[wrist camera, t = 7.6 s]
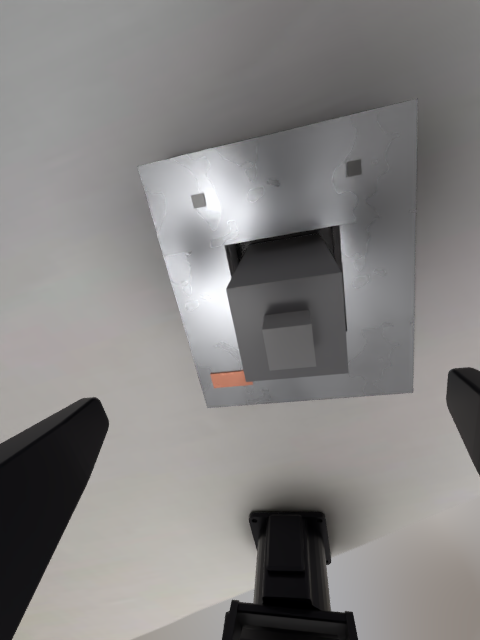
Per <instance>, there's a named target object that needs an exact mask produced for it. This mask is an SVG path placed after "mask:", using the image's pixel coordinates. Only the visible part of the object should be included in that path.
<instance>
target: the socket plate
mask: <svg viewBox="0 0 480 640" xmlns="http://www.w3.org/2000/svg"><path fill="white" fill-rule="evenodd" d="M417 116H418V98H417V99H413V100H409V101H405V102H401V103H397V104H393V105H389V106H384V107H380V108H376V109H372V110H368V111H364V112H360V113H355V114H351V115H347V116H343V117H339V118H335V119H331V120H326V121H322V122H318V123H314V124H310V125H306V126H302V127H297V128H293V129H289V130H285V131H281V132H277V133H273V134H269V135H264V136H260V137H256V138H252V139H248V140H244V141H240V142H235V143H231V144H227V145H223V146H219V147H215V148H211V149H206V150H202V151H198V152H194V153H190V154H186V155H182V156H177V157H173V158H169V159H165V160H161V161H157V162H153V163H149V164H144V165H140V166H137V167H138V171H139V174H140V178H141V181H142V184H143V188H144V191H145V195H146V198H147V202H148V205H149V209H150V212H151V215H152V219H153V222H154V226H155V229H156V233H157V236H158V239H159V243H160V246H161V250H162V253H163V257H164V260H165V264H166V267H167V270H168V274H169V277H170V281H171V284H172V288H173V291H174V294H175V298H176V301H177V305H178V308H179V312H180V315H181V319H182V322H183V325H184V329H185V332H186V336H187V339H188V343H189V346H190V349H191V353H192V356H193V360H194V363H195V367H196V370H197V374H198V377H199V380H200V384H201V387H202V391H203V394H204V398H205V401H206V404H207V408H213V407H227V406H240V405H253V404H267V403H280V402H294V401H307V400H320V399H334V398H347V397H361V396H374V395H387V394H401V393H413V366H414V303H415V241H416V178H417ZM331 226H332V233H333V245H334V257H335V261H336V263H337V265H338V266H339V268H340V270H341V272H342V282H343V297H344V311H345V326H346V341H347V355H348V370H349V373H346V374H335V375H323V376H311V377H299V378H287V379H275V380H264V381H252V382H246V380H245V375H244V370H243V366H242V361H241V357H240V352H239V347H238V343H237V338H236V334H235V329H234V324H233V320H232V315H231V310H230V306H229V301H228V297H227V292H226V288H227V286H228V284H229V282H230V280H231V278H232V276H233V274H234V272H235V270H236V269H237V267H238V265H239V261H238V256H237V251H236V246H235V243H241V242H246V241H252V240H258V239H263V238H269V237H275V236H280V235H286V234H291V233H297V232H303V231H308V230H314V229H320V228H325V227H331Z"/></svg>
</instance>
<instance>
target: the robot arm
mask: <svg viewBox="0 0 480 640" xmlns="http://www.w3.org/2000/svg"><path fill="white" fill-rule="evenodd" d="M446 401H447V406H448V409H449V411H450V413H451V416H452V418H453V420H454V422H455V424H456V427H457V429H458V431H459V433H460V435H461V438H462V440H463V442H464V444H465V446H466V449H467V451H468V453H469V455H470V457H471V459H472V462H473V464H474V466H475V468H476V470H477V472H478V473H479V475H480V371H478V370H476V369H474V368H470V367H466V368H455V369H451V370H450V371H449V373H448V382H447V395H446ZM108 427H109V420H108V418H107V415H106V413H105V411H104V408H103V406H102V404H101V402H100V400H99V399H98V398H96V397H92V398H83V399H80V400H78V401H77V402H75V403H73V404H71V405H69V406H68V407H66V408H64V409H62V410H60V411H59V412H57V413H55V414H53V415H51V416H50V417H48V418H46V419H44V420H42V421H41V422H39V423H37V424H35V425H33V426H32V427H30V428H28V429H26V430H24V431H23V432H21V433H19V434H17V435H16V436H14V437H12V438H10V439H8V440H7V441H5V442H3V443H1V444H0V640H12V638H13V636H14V634H15V632H16V630H17V628H18V626H19V624H20V622H21V620H22V618H23V615H24V613H25V611H26V609H27V607H28V605H29V603H30V601H31V599H32V597H33V595H34V593H35V591H36V589H37V586H38V584H39V582H40V580H41V578H42V576H43V574H44V572H45V570H46V568H47V566H48V564H49V562H50V560H51V558H52V555H53V553H54V551H55V549H56V547H57V545H58V543H59V541H60V539H61V537H62V535H63V533H64V531H65V529H66V527H67V524H68V522H69V520H70V518H71V516H72V514H73V512H74V510H75V508H76V506H77V504H78V502H79V500H80V498H81V495H82V493H83V491H84V489H85V487H86V485H87V483H88V481H89V478H90V476H91V473H92V471H93V468H94V465H95V463H96V460H97V457H98V455H99V452H100V449H101V447H102V444H103V441H104V439H105V436H106V433H107V431H108ZM249 523H250V526H251V530H252V534H253V537H254V541H255V545H256V548H257V563H256V576H255V590H254V603H243V602H239V601H238V600H232V602H231V607H230V611H229V612H226V615H225V623H224V630H223V637H222V640H358V637H357V632H356V626H355V621H354V616H353V612H349V611H345V613H342V612H332V611H331V607H330V598H329V588H328V578H327V568H326V565H329V564H330V563H331V555H330V548H329V541H328V534H327V526H326V519H325V515H324V514H323V513H321V512H270V513H251V514H250V515H249Z"/></svg>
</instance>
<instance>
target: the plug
mask: <svg viewBox="0 0 480 640" xmlns="http://www.w3.org/2000/svg"><path fill="white" fill-rule="evenodd" d="M226 292H227V297H228V301H229V306H230V310H231V315H232V320H233V324H234V329H235V334H236V338H237V343H238V347H239V352H240V357H241V361H242V366H243V370H244V375H245V380H246V382H252V381H264V380H275V379H287V378H299V377H311V376H323V375H335V374H346V373H349V370H348V355H347V341H346V326H345V311H344V297H343V282H342V272H341V270H340V268H339V266H338V265H337V263H336V261H335V260H334V258H333V256H332V254H331V253H330V251H329V249H328V248H327V246H326V244H325V242H324V241H323V239H322V237H321V235H320V234H319V233H316V234H310V235H304V236H298V237H292V238H286V239H281V240H275V241H269V242H263V243H257V244H251V245H249V246H248V248H247V250H246V251H245V253H244V255H243V257H242V259H241V261H240V263H239V265H238V267H237V269H236V270H235V272H234V274H233V276H232V278H231V280H230V282H229V284H228V286H227V288H226Z"/></svg>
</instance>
